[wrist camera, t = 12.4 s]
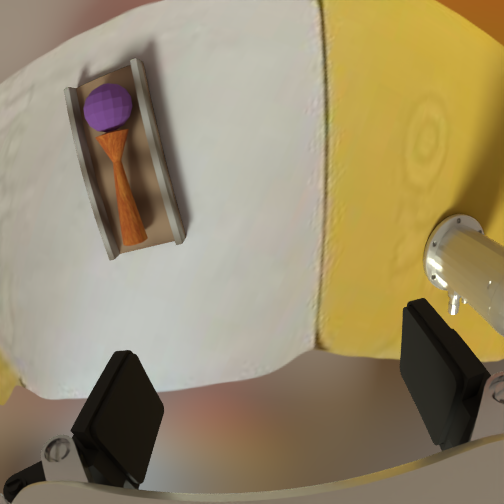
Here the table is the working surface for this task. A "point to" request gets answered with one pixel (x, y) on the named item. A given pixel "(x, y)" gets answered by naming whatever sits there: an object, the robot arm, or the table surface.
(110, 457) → the robot arm
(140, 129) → the rail cradle
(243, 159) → the table surface
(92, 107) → the kendama
